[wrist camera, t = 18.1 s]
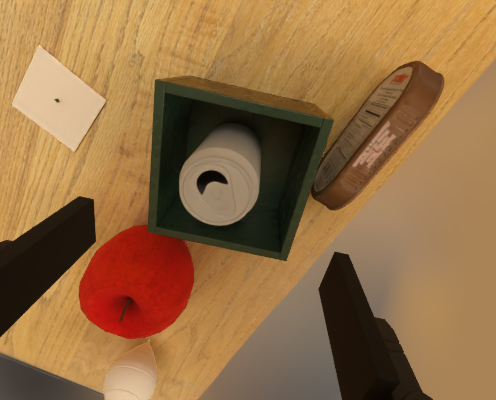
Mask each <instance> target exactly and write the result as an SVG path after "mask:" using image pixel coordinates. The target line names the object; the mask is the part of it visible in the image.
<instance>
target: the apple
mask: <svg viewBox="0 0 496 400" xmlns="http://www.w3.org/2000/svg"><path fill="white" fill-rule="evenodd" d="M193 283H194V269H193V263H192V259H191V254H190V252H189V250H188V248H187V246H186V244H185V242H184V241H183V239H179V238H174V237H169V236H164V235H160V234H156V233H151V232H148V225H141V226H133V227H131V228H129V229H126V230H124V231H122V232H120V233H119V234H117V235H116V236H114V237H113V238H112V239H110V240H109V241H108V242H106V243H105V244H104V245H103V246H101V247H100V248H99V249H98V250H97V251H96V253H95V254H94V256H93V257H92V259H91V261H90V263H89V265H88V267H87V269H86V271H85V273H84V275H83V277H82V279H81V281H80V286H79V300H80V307H81V310H82V311H83V313H84V314H85V315H86V317H87V318H88V319H89V321H91V322H92V323H94V324H95V325H97V326H98V327H99V328H101V329H103V330H104V331H106V332H109V333H112V334H115V335H118V336H121V337H124V338H127V339H136V338H145V337H148V336H151V335H154V334H157V333H159V332H161V331H163V330H164V329H166V328H167V327H168V326H170V325H171V324H173V323H174V321H175V320H176V319H177V318H178V317H179V315H180V314H181V313H182V312H183V310H184V309H185V308H186V305H187V302H188V299H189V296H190V293H191V290H192V287H193Z"/></svg>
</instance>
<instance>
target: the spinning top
mask: <svg viewBox="0 0 496 400" xmlns="http://www.w3.org/2000/svg"><path fill="white" fill-rule="evenodd" d="M150 340H151V339H150V338H149V339H148V341H147V342H145V343H143V344H141V345H139V346H137V347H135V348H133V349H132V350H130V351H128V352H127V353H125V354H124V355H122V356H121V357H120V358H119V359H117V360H116V361H115V362H114V363H113V364H112V365H111V366H110V368H109V369H108V371H107V372H106V374H105V377H104V381H103V392H104V396H105V400H149V399H150V398H151V397H152V395H153V393H154V392H155V389H156V386H157V381H158V372H157V364H156V360H155V356H154V353H153V350H152V348H151V345H150V344H149V342H150Z"/></svg>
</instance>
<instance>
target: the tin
mask: <svg viewBox="0 0 496 400" xmlns="http://www.w3.org/2000/svg"><path fill="white" fill-rule="evenodd" d="M443 87H444V77H443V75H442V74H440V73H437V72H435V71H433V70H432V69H431V68H429V67H428V66H427V65H425V64H424V63H422V62H420V61H414V62H410V63H407V64H404V65H402V66H400V67H398V68H397V69H396V70H395V71H393V72H392V73H391V74H390V75H389V76H388V77H387V78H386V79H385V80H384V81H383V82H382V83H381V84H380V85H379V86H378V87H377V88H376V89H375V91H374V92H373V93H372V94H371V95H370V97H369V98H368V99H367V101H366V102H365V103H364V105H363V106H362V107H361V109H360V110H359V111H358V112H357V114H356V115H355V116H354V118H353V119H352V120H351V122H350V123H349V124H348V126H347V127H346V128H345V130H344V131H343V132H342V134H341V135H340V136H339V138H338V139H337V140H336V142H335V143H334V144H333V146H332V147H331V148H330V150H329V151H328V152H327V154H326V155H325V157H324V158H323V160H322V161H321V163H320V165H319V166H318V169H317V172H316V175H315V178H314V181H313V184H312V187H311V195H312V197H313V198H314V199H315V200H317V201H318V202H320V203H322V204H323V205H325V206H326V207H327V208H328V209H330V210H339V209H341V208H343V207H344V206H346V205H347V204H349V203H350V202H351V201H353V200H354V199H355V198H356V197H357V196H358V195H359V194H360V193H361V192H362V191H363V189H364V188H365V187H366V186H367V185H368V184H369V183H370V181H371V180H372V179H373V178H374V177H375V176H376V175H377V174H378V172H379V171H380V170H381V169H382V168H383V167H384V166H385V164H386V163H387V162H388V161H389V160H390V159H391V157H392V156H393V155H394V154H395V153H396V152H397V151H398V149H399V148H400V147H401V146H402V145H403V144H404V143H405V142H406V141H407V139H408V138H409V137H410V136H411V135H412V134H413V133H414V131H415V130H416V129H417V128H418V127H419V126H420V125H421V123H422V122H423V121H424V120H425V119H426V118H427V116H428V115H429V114H430V112H431V111H432V109H433V108H434V106H435V105H436V103H437V101H438V99H439V97H440V95H441V93H442V90H443Z"/></svg>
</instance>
